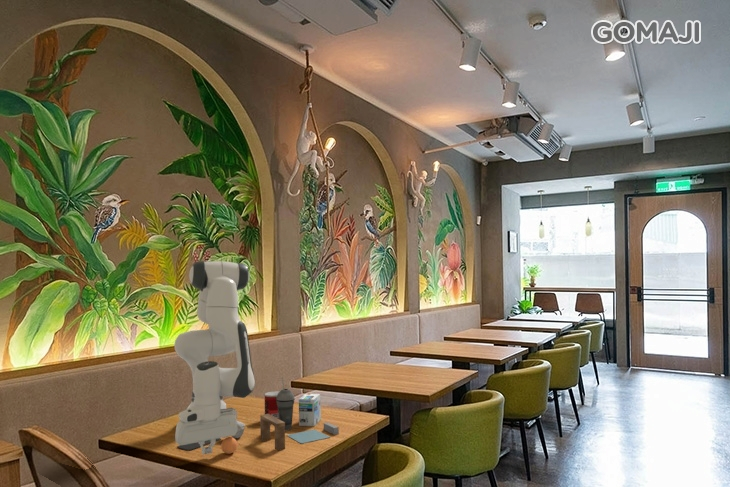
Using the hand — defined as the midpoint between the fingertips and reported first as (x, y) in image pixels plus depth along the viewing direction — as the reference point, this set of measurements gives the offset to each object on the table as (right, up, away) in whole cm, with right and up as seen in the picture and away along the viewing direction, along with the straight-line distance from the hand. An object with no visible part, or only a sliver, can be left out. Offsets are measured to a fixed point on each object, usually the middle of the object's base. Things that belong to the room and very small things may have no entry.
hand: (207, 453), depth 178 cm
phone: (-7, -3, +15) cm, 17 cm away
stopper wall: (+40, -2, +27) cm, 48 cm away
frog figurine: (+5, -3, +21) cm, 22 cm away
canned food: (+15, -4, +45) cm, 47 cm away
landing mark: (+32, -2, +21) cm, 38 cm away
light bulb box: (+30, -4, +40) cm, 50 cm away
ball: (+6, +1, +4) cm, 8 cm away
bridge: (+20, -2, +13) cm, 24 cm away
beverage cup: (+22, -3, +31) cm, 38 cm away
